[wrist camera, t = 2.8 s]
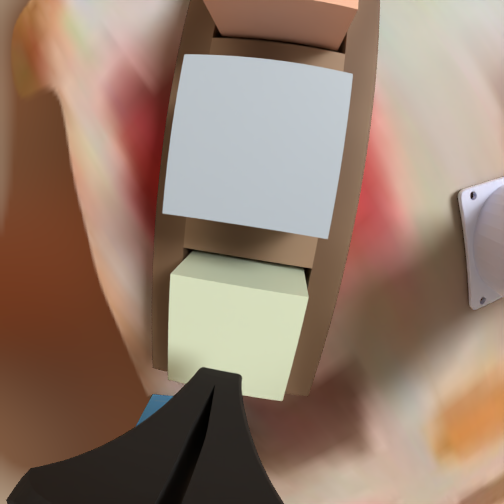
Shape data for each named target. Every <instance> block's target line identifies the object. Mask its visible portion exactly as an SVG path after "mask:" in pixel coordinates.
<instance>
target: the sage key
mask: <svg viewBox="0 0 504 504" xmlns="http://www.w3.org/2000/svg"><path fill="white" fill-rule="evenodd" d="M308 298H309V296H308V290H307V285H306V280H305V274H304V269H303V267H300V266H293V265H287V264H281V263H275V262H269V261H262V260H256V259H250V258H244V257H238V256H232V255H226V254H220V253H213V252H207V251H201V250H195V249H194V250H193V251H192V252H191V253H190V254H189V255H188V256H187V257H186V258H185V259H184V260H183V261H182V262H181V263H180V264H179V265H178V266H177V267H176V269H175V270H174V271H173V272H172V273H171V274H170V293H169V322H168V380H172V381H176V382H180V383H184V384H186V383H187V382H188V381H189V380H190V379H191V378H192V377H193V376H194V375H195V373H196V372H197V371H198V370H199V369H200V368H202V367H206V368H211V369H216V370H221V371H226V372H231V373H237V374H240V375H241V376H242V395H244V396H251V397H257V398H264V399H271V400H278V401H283V397H284V393H285V390H286V386H287V383H288V379H289V375H290V371H291V368H292V364H293V360H294V356H295V352H296V348H297V344H298V340H299V336H300V332H301V328H302V324H303V320H304V315H305V311H306V307H307V303H308Z"/></svg>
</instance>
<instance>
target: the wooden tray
mask: <svg viewBox="0 0 504 504" xmlns="http://www.w3.org/2000/svg"><path fill="white" fill-rule="evenodd" d="M379 15H380V0H359V2H358V11H357V13H356V15H355V17H354V19H353V21H352V23H351V25H350V27H349V29H348V31H347V33H346V35H345V37H344V39H343V41H342V43H341V45H340V47H339V49H338V51H336V50H332V49H326V48H321V47H316V46H310V45H304V44H298V43H291V42H283V41H275V40H266V39H256V38H243V37H226V36H221V34H220V32H219V30H218V28H217V26H216V24H215V22H214V20H213V18H212V16H211V15H210V13H209V11H208V9H207V7H206V5H205V3H204V1H203V0H190V4H189V8H188V12H187V16H186V20H185V24H184V28H183V33H182V37H181V42H180V47H179V51H178V56H177V61H176V66H175V72H174V77H173V82H172V88H171V94H170V100H169V106H168V113H167V119H166V126H165V133H164V141H163V149H162V157H161V166H160V175H159V185H158V195H157V207H156V220H155V235H154V253H153V279H152V360H153V368H155V369H159V370H163V371H167V372H168V322H169V293H170V274H171V273H172V272H173V271H174V270H175V269H176V267H177V266H178V265H179V264H180V263H181V262H182V261H183V260H184V259H185V258H186V257H187V256H188V255H189V254H190V253H191V252H192V251H193V250H194V249H195V250H201V251H207V252H213V253H220V254H226V255H232V256H238V257H244V258H250V259H256V260H262V261H269V262H275V263H281V264H287V265H293V266H300V267H303V269H304V274H305V280H306V285H307V290H308V296H309V298H308V303H307V307H306V311H305V315H304V320H303V324H302V328H301V332H300V336H299V340H298V344H297V348H296V352H295V356H294V360H293V364H292V368H291V371H290V375H289V379H288V383H287V386H286V390H285V394H293V395H302V396H308V395H309V392H310V389H311V386H312V383H313V380H314V377H315V374H316V370H317V367H318V364H319V361H320V358H321V354H322V351H323V348H324V344H325V341H326V337H327V334H328V330H329V327H330V323H331V319H332V316H333V312H334V308H335V304H336V301H337V297H338V293H339V289H340V285H341V281H342V277H343V272H344V268H345V264H346V260H347V255H348V251H349V246H350V242H351V237H352V232H353V227H354V222H355V217H356V212H357V207H358V202H359V196H360V191H361V185H362V179H363V173H364V167H365V161H366V154H367V148H368V141H369V133H370V126H371V118H372V109H373V100H374V91H375V80H376V69H377V55H378V39H379ZM184 54H200V55H225V56H240V57H252V58H262V59H271V60H279V61H286V62H293V63H300V64H306V65H312V66H317V67H323V68H328V69H333V70H337V71H342V72H347V73H351V74H353V79H352V88H351V97H350V105H349V113H348V121H347V128H346V135H345V142H344V149H343V156H342V162H341V169H340V175H339V181H338V187H337V192H336V198H335V204H334V209H333V215H332V220H331V225H330V230H329V235H328V239H324V238H318V237H312V236H306V235H300V234H294V233H288V232H282V231H276V230H270V229H263V228H257V227H251V226H244V225H238V224H231V223H225V222H218V221H212V220H205V219H198V218H191V217H184V216H177V215H170V214H163V213H162V212H163V201H164V190H165V180H166V171H167V162H168V154H169V146H170V138H171V131H172V124H173V117H174V110H175V104H176V98H177V92H178V86H179V80H180V75H181V70H182V64H183V59H184Z"/></svg>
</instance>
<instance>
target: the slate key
mask: <svg viewBox="0 0 504 504" xmlns="http://www.w3.org/2000/svg"><path fill="white" fill-rule="evenodd" d="M352 79H353V74H351V73H347V72H342V71H337V70H333V69H328V68H323V67H317V66H312V65H306V64H300V63H293V62H286V61H279V60H271V59H262V58H252V57H240V56H225V55H200V54H184V59H183V64H182V70H181V75H180V80H179V86H178V92H177V98H176V104H175V110H174V117H173V124H172V131H171V138H170V146H169V154H168V162H167V171H166V180H165V190H164V201H163V212H162V213H163V214H170V215H177V216H184V217H191V218H198V219H205V220H212V221H218V222H225V223H231V224H238V225H244V226H251V227H257V228H263V229H270V230H276V231H282V232H288V233H294V234H300V235H306V236H312V237H318V238H324V239H328V235H329V230H330V225H331V220H332V215H333V209H334V204H335V198H336V192H337V187H338V181H339V175H340V169H341V162H342V156H343V149H344V142H345V135H346V128H347V121H348V113H349V105H350V97H351V88H352Z"/></svg>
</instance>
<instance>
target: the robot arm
mask: <svg viewBox="0 0 504 504" xmlns="http://www.w3.org/2000/svg"><path fill="white" fill-rule="evenodd" d="M471 192H473V198H472V199H471V198H470V194H471ZM458 201H459V207H460V213H461V220H462V226H463V234H464V242H465V251H466V261H467V273H468V290H469V306H470V307H471V308H472V309H474V310H476V309H479V308H481V307H483V306H485V305H487V304H490V303H492V302H494V301H496V300H498V299H500V298H502V297H504V176H503V177H500V178H496V179H493V180H490V181H487V182H483V183H480V184H477V185H474V186H470V187H467V188H464V189H462V190H460V192H459V194H458ZM482 297H483V299H482V301H480V300H481V298H482ZM6 501H7V504H284V503H283V501H282V500H281V498H280V496H279V495H278V493H277V492H276V490H275V488H274V487H273V485H272V483H271V481H270V479H269V477H268V475H267V473H266V471H265V469H264V467H263V465H262V463H261V460H260V458H259V456H258V453H257V451H256V448H255V445H254V442H253V439H252V436H251V433H250V430H249V426H248V423H247V418H246V414H245V410H244V404H243V397H242V376H241V375H240V374H237V373H231V372H226V371H221V370H216V369H211V368H206V367H202V368H200V369H199V370H198V371H197V372H196V373H195V375H194V376H193V377H192V378H191V379H190V380H189V381H188V382H187V383H186V385H185V386H184V387H183V388H182V389H181V390H180V391H179V392H178V393H177V394H175V395H174V396H173V397H172V398H171V399H170V400H169V401H168V402H167V403H166V404H165V405H163V406H162V407H161V408H160V409H158V410H157V411H156V412H155V413H154V414H152V415H151V416H150V417H148V418H147V419H146V420H144V421H143V422H142V423H140V424H139V425H137V426H136V427H134V428H133V429H131V430H130V431H128V432H126V433H125V434H123V435H122V436H119V437H118V438H116V439H114V440H112V441H110V442H108V443H106V444H105V445H102V446H100V447H98V448H96V449H93V450H91V451H88V452H86V453H83V454H81V455H78V456H75V457H73V458H70V459H67V460H64V461H60V462H56V463H52V464H48V465H44V466H40V467H35V468H31V469H30V470H29V471H28V472H27V473H26V474H25V475H24V476H23V477H22V478H21V480H20V481H19V482H18V484H17V485H16V487H15V488H14V489H13V491H12V493H11V494H10V495H9V497H8V498H7V500H6Z"/></svg>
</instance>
